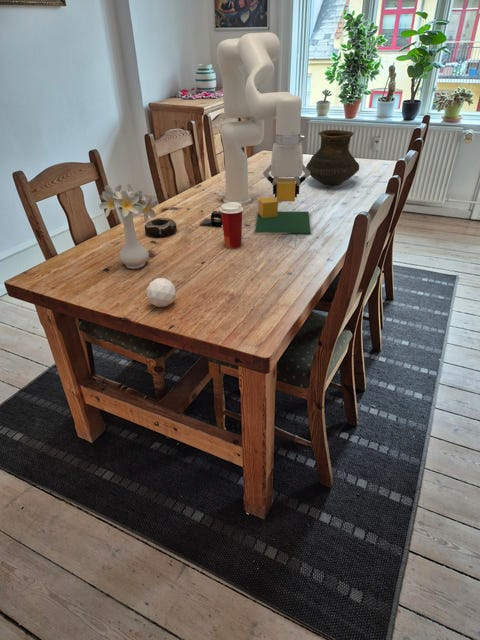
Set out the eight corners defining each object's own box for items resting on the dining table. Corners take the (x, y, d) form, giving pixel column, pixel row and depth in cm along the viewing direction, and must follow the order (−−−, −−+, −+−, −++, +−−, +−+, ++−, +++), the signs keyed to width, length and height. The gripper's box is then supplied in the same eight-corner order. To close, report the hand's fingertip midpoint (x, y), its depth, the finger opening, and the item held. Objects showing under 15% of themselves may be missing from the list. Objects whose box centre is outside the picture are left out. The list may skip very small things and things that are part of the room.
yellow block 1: (262, 218, 171) (262, 203, 168) (258, 213, 176) (258, 198, 173) (277, 216, 173) (277, 201, 169) (272, 211, 177) (272, 196, 174)
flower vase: (155, 276, 135) (143, 195, 121) (102, 270, 139) (84, 191, 125) (172, 258, 145) (163, 182, 131) (122, 253, 149) (107, 179, 136)
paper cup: (247, 241, 154) (246, 202, 147) (239, 250, 148) (238, 210, 141) (226, 239, 157) (224, 200, 149) (218, 248, 151) (215, 208, 143)
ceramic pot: (366, 181, 209) (373, 131, 197) (340, 194, 194) (345, 141, 182) (322, 173, 223) (326, 125, 211) (294, 185, 208) (296, 134, 196)
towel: (254, 234, 160) (254, 232, 160) (258, 212, 178) (258, 211, 178) (310, 234, 158) (310, 232, 158) (308, 213, 177) (308, 211, 176)
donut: (139, 236, 162) (137, 226, 159) (155, 225, 171) (153, 215, 168) (167, 240, 158) (166, 229, 156) (182, 228, 167) (181, 217, 165)
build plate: (235, 221, 171) (235, 210, 169) (230, 228, 165) (229, 216, 163) (205, 219, 174) (204, 207, 172) (199, 226, 168) (198, 214, 166)
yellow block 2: (276, 201, 147) (276, 183, 143) (277, 195, 152) (277, 177, 148) (294, 201, 146) (295, 183, 143) (294, 195, 151) (295, 177, 148)
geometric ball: (157, 315, 121) (135, 297, 117) (169, 293, 125) (148, 275, 121) (174, 310, 116) (152, 291, 112) (186, 287, 120) (165, 268, 116)
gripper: (315, 136, 141) (311, 192, 151) (260, 137, 142) (260, 192, 152) (315, 142, 134) (312, 200, 144) (259, 142, 136) (259, 199, 146)
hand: (285, 195), depth 148 cm, fingers closed on yellow block 2, 6 cm apart
